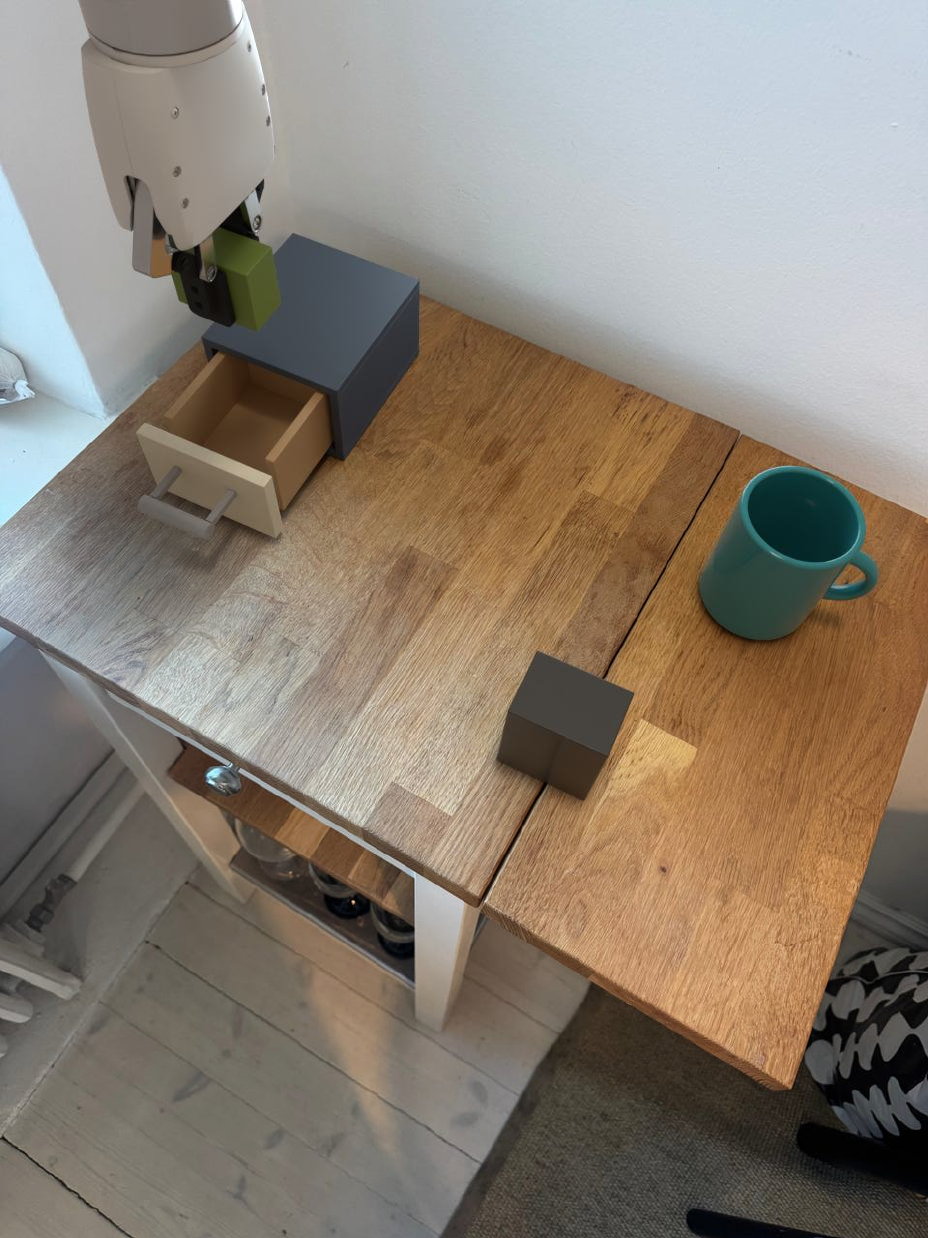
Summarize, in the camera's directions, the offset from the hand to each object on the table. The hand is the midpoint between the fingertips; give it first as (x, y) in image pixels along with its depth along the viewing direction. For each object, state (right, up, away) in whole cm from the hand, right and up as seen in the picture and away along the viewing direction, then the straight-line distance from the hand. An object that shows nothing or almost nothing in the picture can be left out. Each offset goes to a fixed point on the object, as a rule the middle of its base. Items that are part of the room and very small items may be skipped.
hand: (228, 297), depth 58 cm
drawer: (-3, -9, +17) cm, 20 cm away
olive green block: (0, 0, 0) cm, 0 cm away
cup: (+40, -20, +15) cm, 47 cm away
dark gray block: (+22, -31, +7) cm, 38 cm away
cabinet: (+2, +1, +24) cm, 24 cm away
